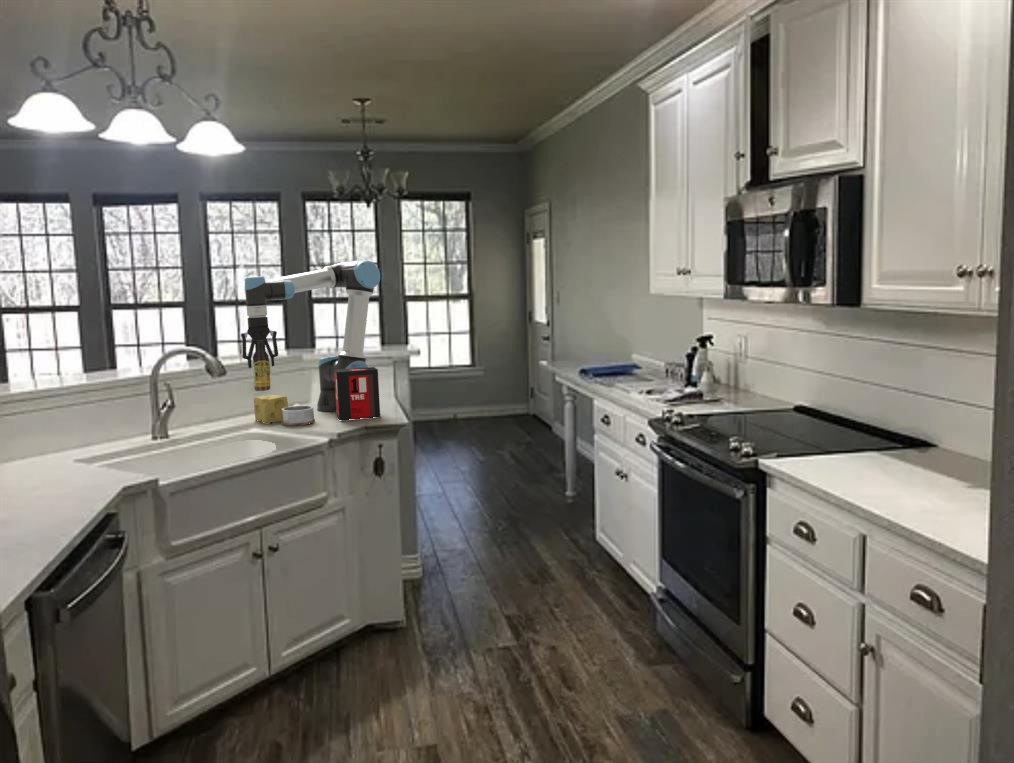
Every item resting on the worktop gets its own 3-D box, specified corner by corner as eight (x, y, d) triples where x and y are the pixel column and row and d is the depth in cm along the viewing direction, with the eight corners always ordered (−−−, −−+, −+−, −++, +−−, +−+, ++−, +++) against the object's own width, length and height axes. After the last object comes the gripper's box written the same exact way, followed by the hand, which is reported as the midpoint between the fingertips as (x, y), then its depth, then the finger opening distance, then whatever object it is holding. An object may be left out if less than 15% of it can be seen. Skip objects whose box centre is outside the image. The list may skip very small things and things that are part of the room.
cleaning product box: (339, 421, 346) (336, 372, 343) (336, 417, 354) (333, 369, 351) (380, 417, 351) (377, 369, 348) (376, 414, 359) (374, 367, 356)
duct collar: (310, 416, 353) (310, 404, 352) (316, 421, 342) (315, 409, 341) (280, 419, 348) (279, 407, 348) (285, 424, 337) (284, 412, 337)
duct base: (311, 418, 354) (311, 416, 354) (317, 423, 342) (317, 421, 342) (279, 421, 349) (279, 419, 349) (284, 427, 337) (284, 424, 337)
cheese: (265, 424, 346) (263, 399, 344) (253, 420, 354) (252, 396, 352) (289, 420, 353) (287, 396, 351) (277, 417, 361) (275, 393, 359)
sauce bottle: (255, 392, 333) (250, 341, 330) (253, 390, 339) (248, 340, 336) (272, 390, 336) (268, 339, 333) (270, 388, 342) (265, 338, 338)
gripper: (232, 318, 326) (237, 378, 330) (283, 315, 333) (288, 374, 337) (231, 317, 333) (235, 376, 336) (281, 314, 340) (285, 372, 344)
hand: (262, 375), depth 337 cm, fingers closed on sauce bottle, 6 cm apart
